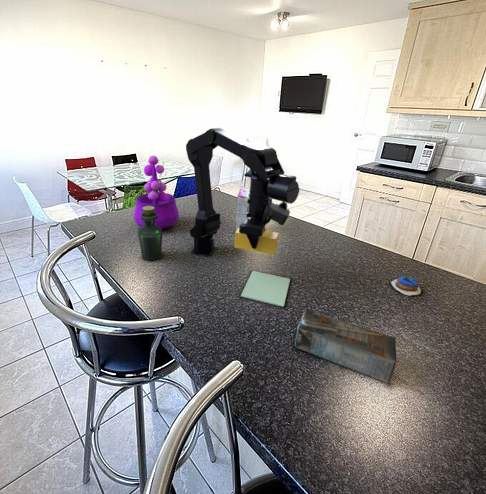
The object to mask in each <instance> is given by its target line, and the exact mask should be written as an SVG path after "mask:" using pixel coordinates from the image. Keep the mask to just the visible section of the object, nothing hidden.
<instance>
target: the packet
mask: <svg viewBox="0 0 486 494" xmlns="http://www.w3.org/2000/svg"><path fill="white" fill-rule="evenodd" d="M278 243H279V232H275V231H267V230H265V232H264V233H263V235H262V236H259V240H258V243H257V247H256V249H253V248H252V247H251V244H250V242H249V240H248V238H247V236H246V234H241V233H239V228H238V229H237V231H236V230H235V232H234V248H236V249H240V250H245V251H250V252H251V251H252V252H256V253H261V254H267V255H272V256H275V255H276V252H277V250H278Z"/></svg>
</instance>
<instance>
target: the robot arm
mask: <svg viewBox="0 0 486 494" xmlns="http://www.w3.org/2000/svg"><path fill="white" fill-rule="evenodd" d="M218 147H219V148H222V149H224V150H226V151H228V152H229V153H230V154H233V155H234V156H236V157H238V158H240V159H241V160H242V163H243V164H244V165H245V166H246V167H247V168H249V170H248V171H247V172H245V173H244V174H243V175H244V177H246V178H249V179H250V183H249V189H250V196H249V198H248V200H247V203H249V211H248V212H247V216H246V217H249V219H245V220H244V221H243V222H242V223H241V225H240V226H239V233H241V234H246V236H247V238H248V240H249V242H250V244H251V247H252V248H253V249H256V247H257V243H258V240H259V236H262V235H263V233H264V232H265V231H267V230H266V229H267V228H266V225H268V224H269V223H270V222H271V221H273V222H275V223H278V225H280V226H284V225H285V223H286V221H287V220H288V218H289V216H290V213H291V211H290V209H289V208H288V204H290V205H291V204H293V203H295V202H296V201H297V199H298V197H299V194H300V185H299V183H298V181H297V176H295V175H286V174H285V170H284V169H283V166H282V164H281V162H280V160H279V157H278V154H277V150H276V149H275V148H273V147H270V146H267V145H262V144H254V143H250V142H248V141H246V140H244V139H242V138H240V137H238V136H236V135H235V134H232V133H230V132H228V131H225V130H224V129H223V128H221V127H214V128H213V127H212V128H209V129H207V130H206V131H204V133H201V134H199V135H197V136H196V137H194V138H190V139H189V140H188V141H187V143H186V144H185V151H186V155H187V160H188V161H189V162H190V164H191V165H192V167H193V169H194V170H193V171H194V181H195V189H196V198H197V208H198V210H197V212H196V215H195V217H194V226H193V227H192V228H191V229H190V230H189V235H190V237H191V238H193V249H192V251H191V253H193V254H198V255H203V256H210V255H211V253H212V252H213V251H214V250H215V249H216V248H215V238H214V236H215V235H216V234H217V233H218V231H219V230H220V229H221V225H222V222H221V214H220V213H219V212H217V211H216V210H215V208H214V204H213V203H214V202H213V194H212V192H213V191H212V182H211V173H210V172H211V171H210V164H211V161H212V160H213V157H214V149H216V148H218ZM273 200H275V201H278V202H280V203H274V202H273Z"/></svg>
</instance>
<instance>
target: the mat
mask: <svg viewBox="0 0 486 494" xmlns="http://www.w3.org/2000/svg"><path fill="white" fill-rule="evenodd" d="M290 282H291V278H289V277H284V276H279V275H274V274H271V273H264V272H261V271H256V270H252V271H251V273H250V275H249V277H248V278H247V281H246V284H245V286H244V288H243V290H242V292H241V293H240V297H241V298H245V299H249V300H253V301H257V302H261V303H265V304H270V305H272V306H277V307H281V308H284V306H285V303H286V300H287V296H288V291H289V287H290Z"/></svg>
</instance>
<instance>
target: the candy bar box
mask: <svg viewBox="0 0 486 494" xmlns="http://www.w3.org/2000/svg"><path fill="white" fill-rule="evenodd" d="M249 196H250V188H240V189H239V191H238V193H237V196H236V215H235V216H236V217H235V232H236V231H237V229H238V228H239V226H240V225H241V223H242V222H243V221H244V220H245V219H250V217H246V216H247V212H248V211H249V203H247V200H248V198H249Z"/></svg>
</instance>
